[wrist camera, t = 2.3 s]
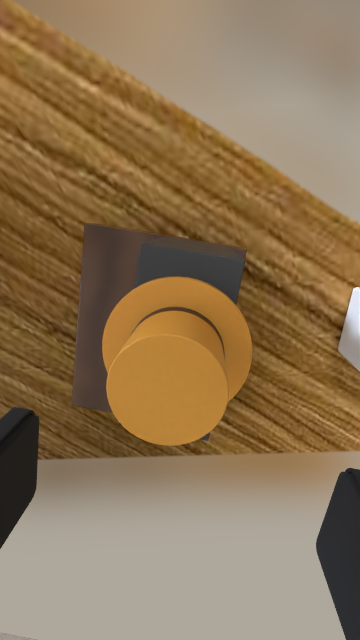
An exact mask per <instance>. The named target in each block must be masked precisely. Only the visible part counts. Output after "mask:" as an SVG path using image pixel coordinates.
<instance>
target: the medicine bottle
mask: <svg viewBox="0 0 360 640" xmlns="http://www.w3.org/2000/svg"><path fill="white" fill-rule="evenodd" d="M338 351H339V352H340V353H341V354H342V355H343V356H344V357H345V358H346V359H347V360H348V361H349V362H350V363H351V364H352V365H353V366H354V367H355V368H356V369H358V370H359V371H360V287H356V288H354V289H353V292H352V296H351V300H350V304H349V307H348V311H347V315H346V319H345V323H344V327H343V331H342V334H341V338H340V342H339V346H338Z"/></svg>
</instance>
